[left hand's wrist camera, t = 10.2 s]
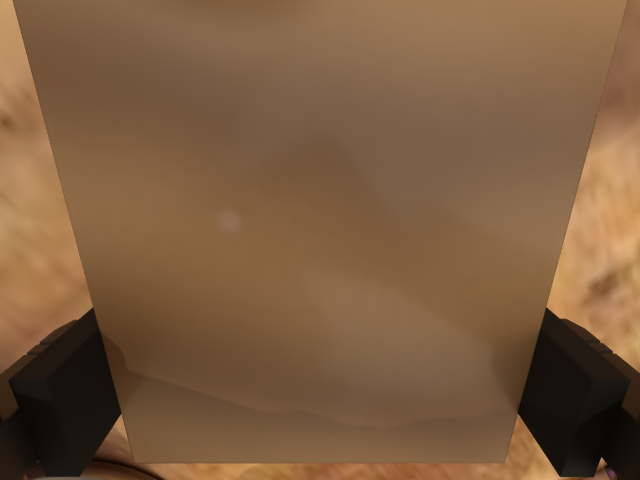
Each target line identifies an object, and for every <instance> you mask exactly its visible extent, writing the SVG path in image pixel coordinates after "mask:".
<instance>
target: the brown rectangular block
mask: <svg viewBox="0 0 640 480" xmlns="http://www.w3.org/2000/svg"><path fill="white" fill-rule="evenodd" d="M627 2H628V0H13V3H14V7H15V11H16V15H17V19H18V22H19V26H20V30H21V34H22V38H23V41H24V45H25V49H26V53H27V57H28V60H29V64H30V68H31V72H32V76H33V79H34V83H35V87H36V91H37V95H38V98H39V102H40V106H41V110H42V114H43V117H44V121H45V125H46V129H47V133H48V136H49V140H50V144H51V148H52V152H53V155H54V159H55V163H56V167H57V171H58V174H59V178H60V182H61V186H62V190H63V193H64V197H65V201H66V205H67V209H68V212H69V216H70V220H71V224H72V228H73V231H74V235H75V239H76V243H77V247H78V250H79V254H80V258H81V262H82V266H83V269H84V273H85V277H86V281H87V285H88V288H89V292H90V296H91V300H92V304H93V307H94V311H95V315H96V319H97V323H98V326H99V330H100V334H101V338H102V342H103V345H104V349H105V353H106V357H107V361H108V364H109V368H110V372H111V376H112V380H113V383H114V387H115V391H116V395H117V399H118V402H119V406H120V410H121V414H122V418H123V421H124V425H125V429H126V433H127V437H128V440H129V444H130V448H131V452H132V456H133V459H134V463H505V459H506V456H507V452H508V448H509V444H510V441H511V437H512V433H513V429H514V426H515V422H516V418H517V414H518V411H519V407H520V403H521V399H522V396H523V392H524V388H525V384H526V381H527V377H528V373H529V369H530V366H531V362H532V358H533V354H534V351H535V347H536V343H537V339H538V336H539V332H540V328H541V324H542V321H543V317H544V313H545V309H546V306H547V302H548V298H549V294H550V290H551V287H552V283H553V279H554V275H555V272H556V268H557V264H558V260H559V257H560V253H561V249H562V245H563V242H564V238H565V234H566V230H567V227H568V223H569V219H570V215H571V212H572V208H573V204H574V200H575V197H576V193H577V189H578V185H579V182H580V178H581V174H582V170H583V167H584V163H585V159H586V155H587V152H588V148H589V144H590V140H591V137H592V133H593V129H594V125H595V122H596V118H597V114H598V110H599V107H600V103H601V99H602V95H603V92H604V88H605V84H606V80H607V77H608V73H609V69H610V65H611V62H612V58H613V54H614V50H615V47H616V43H617V39H618V35H619V32H620V28H621V24H622V20H623V17H624V13H625V9H626V5H627Z"/></svg>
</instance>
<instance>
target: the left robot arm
mask: <svg viewBox="0 0 640 480" xmlns="http://www.w3.org/2000/svg"><path fill="white" fill-rule="evenodd" d="M518 414H519V415H520V417H521V418H522V420H523V422H524V423H525V425H526V426H527V428H528V429H529V431H530V432H531V434H532V435H533V437H534V438H535V440H536V441H537V443H538V444H539V446H540V447H541V449H542V450H543V452H544V453H545V455H546V456H547V458H548V459H549V461H550V463H551V464H552V466H553V467H554V469H555V470H556V472H557V473H558V475H559V476H560V477H594V475H595V472H596V470H597V467H598V464H599V462H600V459H601V457H602V458H603V459H604V461H605V462H606V463H607V464H608V465H609V467H610V468H611V469H612V470H613V472H614V473H615V474H614V476H613V478H612V480H640V373H639V372H638V371H636V370H635V369H634V368H633V367H631V366H630V365H629V364H628V363H627V362H625V361H624V360H623V359H622V358H620V357H619V356H618V355H617V354H613V351H612V350H611V349H609V348H608V347H607V346H606V345H604V344H603V343H600V340H598V339H597V338H596V337H595V336H593V335H592V334H591V333H590V332H588V331H587V330H586V329H585V328H583V327H581V326H579V325H577V324H575V323H573V322H571V321H569V320H567V319H559V318H558V317H557V316H556V315H555V314H554V313H552V312H551V311H550V310H549V309H548V308H547V307H546V309H545V313H544V317H543V321H542V324H541V328H540V332H539V336H538V339H537V343H536V347H535V351H534V354H533V358H532V362H531V366H530V369H529V373H528V377H527V381H526V384H525V388H524V392H523V396H522V399H521V403H520V407H519V411H518ZM120 415H121V410H120V406H119V402H118V399H117V395H116V391H115V387H114V383H113V380H112V376H111V372H110V368H109V364H108V361H107V357H106V353H105V349H104V345H103V342H102V338H101V334H100V330H99V326H98V323H97V319H96V315H95V311H94V307H93V308H92V309H91V310H89V311H88V312H87V313H86V314H85V315H84V316H82V317H81V318H80V319H79V320H73V321H71V322H69V323H67V324H65V325H64V326H62V327H60V328H58V329H56V330H54V331H53V332H52V333H51V334H49V335H48V336H47V337H46V338H44V339H43V340H42V341H41V342H40V344H39V345H36V346H35V347H34V348H32V349H31V350H30V351H29V352H27V355H24V356H23V357H21V358H20V359H19V360H18V361H16V362H15V363H14V364H13V365H12V366H10V367H9V368H8V369H7V370H6V371H4V372H3V373H2V374H1V375H0V480H157V479H155V478H153V477H151V476H149V475H147V474H144V473H142V472H139V471H137V470H134V469H131V468H128V467H124V466H121V465H117V464H112V463H107V462H100V461H91V459H92V457H93V456H94V454H95V453H96V451H97V450H98V448H99V447H100V445H101V444H102V442H103V441H104V439H105V438H106V436H107V435H108V433H109V432H110V430H111V429H112V427H113V425H114V424H115V422H116V421H117V419H118V418H119V416H120ZM38 458H39V461H40V463H41V465H37V466H34V467H32V466H33V465H34V463H35V462H36V461H37V460H38Z"/></svg>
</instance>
